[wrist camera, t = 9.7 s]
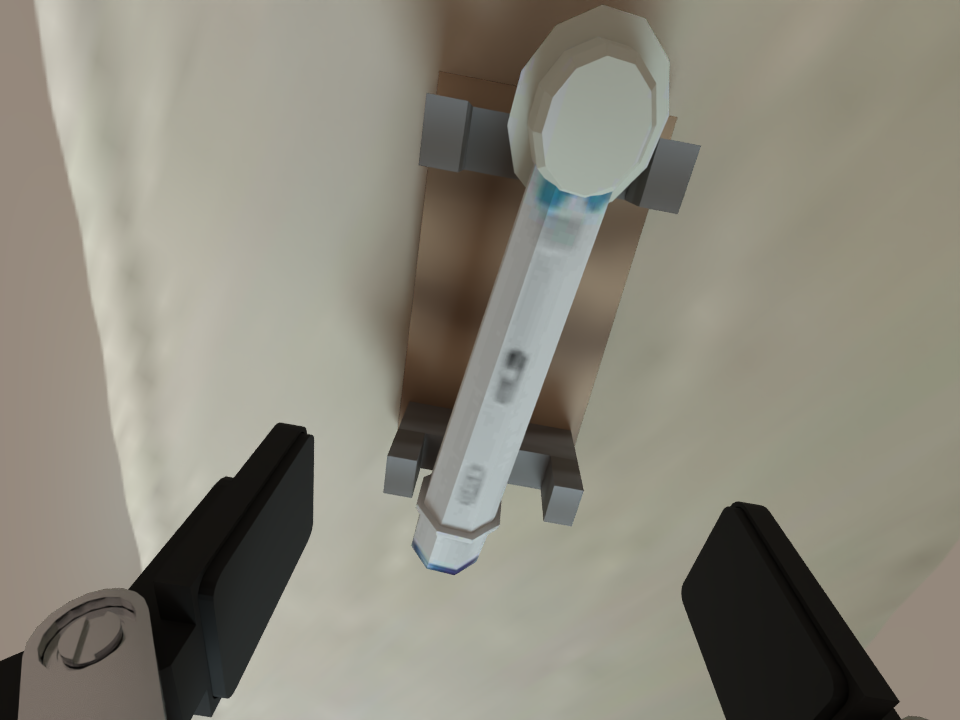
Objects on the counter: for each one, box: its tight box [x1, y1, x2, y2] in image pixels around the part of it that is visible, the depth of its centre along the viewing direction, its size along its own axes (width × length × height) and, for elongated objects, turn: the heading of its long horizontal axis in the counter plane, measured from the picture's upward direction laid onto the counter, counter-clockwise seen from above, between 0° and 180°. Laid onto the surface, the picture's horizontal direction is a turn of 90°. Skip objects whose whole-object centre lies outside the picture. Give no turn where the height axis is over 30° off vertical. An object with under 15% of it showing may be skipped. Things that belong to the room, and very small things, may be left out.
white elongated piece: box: [412, 4, 669, 575], centre depth 21 cm, size 5×7×25 cm
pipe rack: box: [383, 71, 701, 526], centre depth 24 cm, size 21×11×8 cm, turn 170°
